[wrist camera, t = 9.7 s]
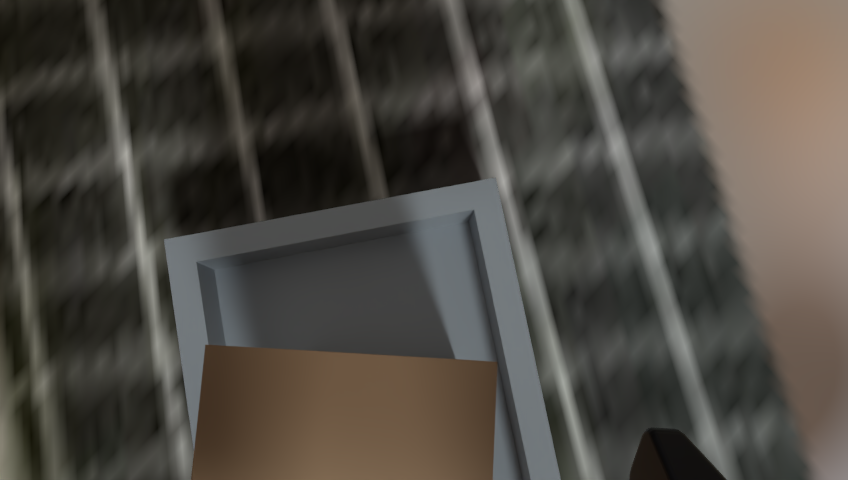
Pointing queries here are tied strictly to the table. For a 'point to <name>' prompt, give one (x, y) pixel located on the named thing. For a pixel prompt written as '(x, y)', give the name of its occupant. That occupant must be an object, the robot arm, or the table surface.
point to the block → (343, 416)
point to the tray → (373, 298)
